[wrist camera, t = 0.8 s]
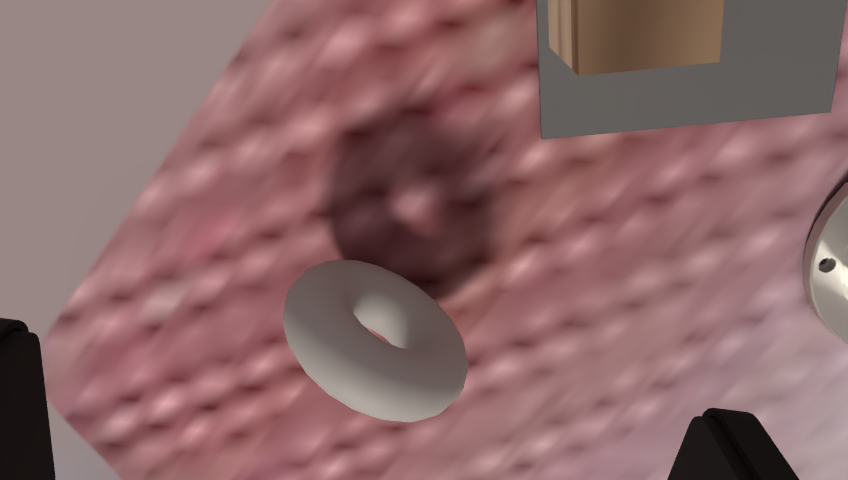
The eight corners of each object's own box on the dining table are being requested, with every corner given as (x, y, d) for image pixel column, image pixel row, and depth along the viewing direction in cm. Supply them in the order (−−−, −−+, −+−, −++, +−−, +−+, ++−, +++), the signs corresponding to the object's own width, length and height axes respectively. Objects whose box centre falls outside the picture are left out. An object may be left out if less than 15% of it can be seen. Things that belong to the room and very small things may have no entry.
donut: (296, 270, 37) (244, 375, 28) (322, 222, 36) (278, 315, 27) (447, 348, 39) (445, 471, 30) (477, 305, 37) (486, 419, 28)
